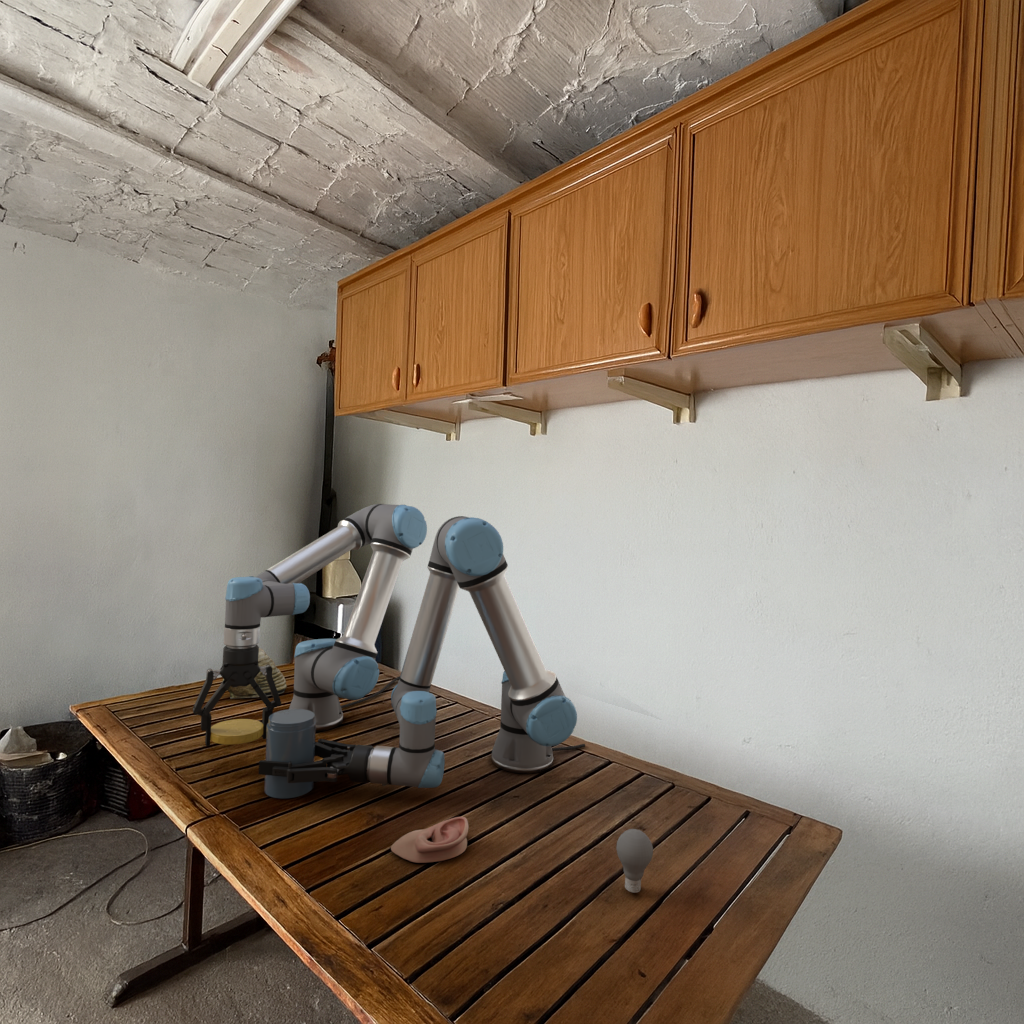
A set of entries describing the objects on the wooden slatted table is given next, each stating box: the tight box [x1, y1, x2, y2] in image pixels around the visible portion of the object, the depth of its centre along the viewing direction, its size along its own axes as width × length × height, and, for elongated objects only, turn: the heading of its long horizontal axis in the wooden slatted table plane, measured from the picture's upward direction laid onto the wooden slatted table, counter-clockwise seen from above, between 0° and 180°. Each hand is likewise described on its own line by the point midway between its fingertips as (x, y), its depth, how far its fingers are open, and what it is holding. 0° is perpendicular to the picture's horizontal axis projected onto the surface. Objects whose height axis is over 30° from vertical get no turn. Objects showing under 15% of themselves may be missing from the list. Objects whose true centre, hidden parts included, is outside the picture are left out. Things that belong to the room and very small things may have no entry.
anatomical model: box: [390, 816, 469, 864], centre depth 116 cm, size 13×4×12 cm
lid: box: [210, 718, 263, 746], centre depth 145 cm, size 11×11×2 cm
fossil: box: [222, 647, 288, 699], centre depth 198 cm, size 9×18×15 cm, turn 132°
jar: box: [263, 708, 317, 799], centre depth 137 cm, size 10×10×16 cm
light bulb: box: [615, 828, 654, 894], centre depth 106 cm, size 6×6×10 cm
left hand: (236, 740), depth 145 cm, fingers closed on lid, 11 cm apart
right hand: (271, 756), depth 137 cm, fingers closed on jar, 10 cm apart
